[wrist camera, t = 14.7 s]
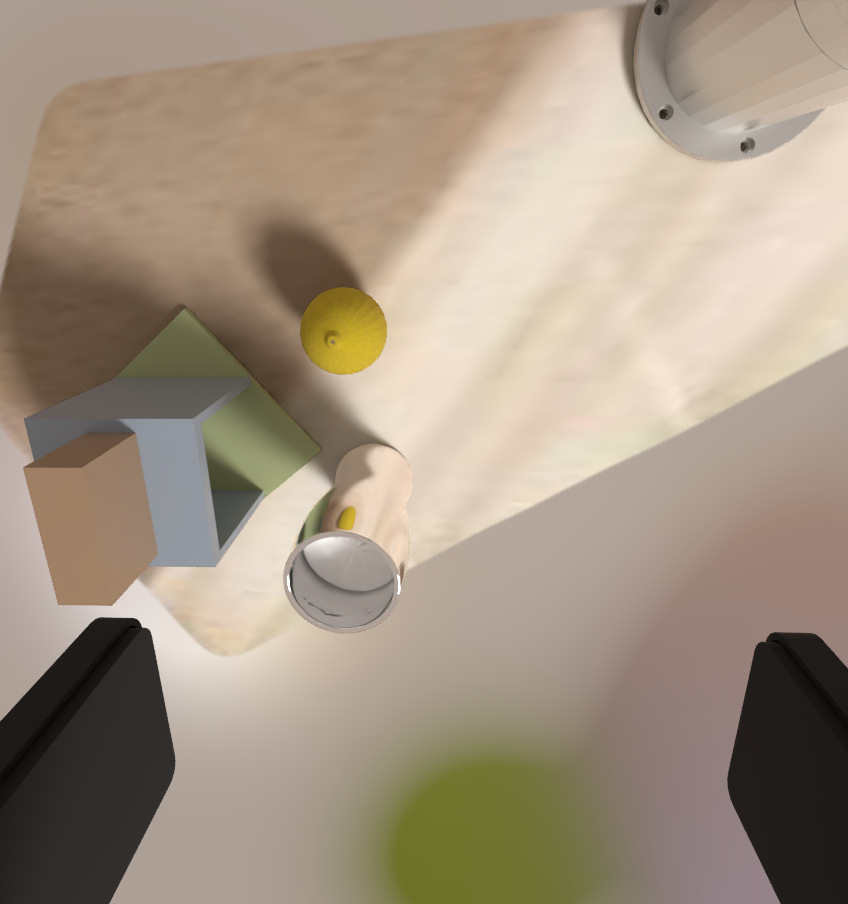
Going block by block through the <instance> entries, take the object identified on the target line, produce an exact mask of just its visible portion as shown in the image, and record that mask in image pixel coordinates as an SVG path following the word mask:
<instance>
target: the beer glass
mask: <svg viewBox="0 0 848 904" xmlns="http://www.w3.org/2000/svg"><path fill="white" fill-rule="evenodd" d="M412 489H413V474H412V471H411V468H410V466H409V464H408V462H407V461H406V459H405V458H404V457H403V456H402V455H401V454H400V453H399V452H397V451H396V450H394V449H392V448H390V447H388V446H385V445H381V444H365V445H361V446H358V447H356V448H354V449H352V450H351V451H349V452H348V453H347V454H346V455H345V456H344V457H343V458H342V460H341V461H340V463H339V465H338V467H337V470H336V475H335V484H334V485H333V486H332V487H331V488H329V489H328V490H327V491H326V492H325V493H324V494H323V495H322V496H321V497H320V498H319V499H318V500H317V502H316V503H315V504H314V505H313V506H312V507H311V509H310V510H309V512H308V514H307V515H306V517H305V519H304V520H303V522H302V524H301V526H300V528H299V531H298V533H297V535H296V538H295V541H294V543H293V546H292V549H291V552H290V556H289V558H288V560H287V562H286V565H285V569H284V575H283V582H284V588H285V592H286V595H287V597H288V600H289V601H290V603H291V605H292V606H293V608H294V609H295V610H296V611H297V613H298V614H299V615H300V616H302V617H303V618H304V619H305V620H307V621H308V622H309V623H311V624H313V625H315V626H317V627H319V628H321V629H324V630H327V631H331V632H335V633H357V632H362V631H365V630H368V629H371V628H373V627H375V626H377V625H378V624H380V623H381V622H383V621H384V620H385V619H386V618H387V617H388V616H389V615H390V614H391V613H392V611H393V610H394V608H395V606H396V604H397V602H398V600H399V596H400V590H401V587H402V584H403V581H404V577H405V573H406V570H407V565H408V560H409V553H410V528H409V521H408V516H407V512H406V508H405V504H406V503H407V501H408V500H409V498H410V495H411V493H412Z"/></svg>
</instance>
